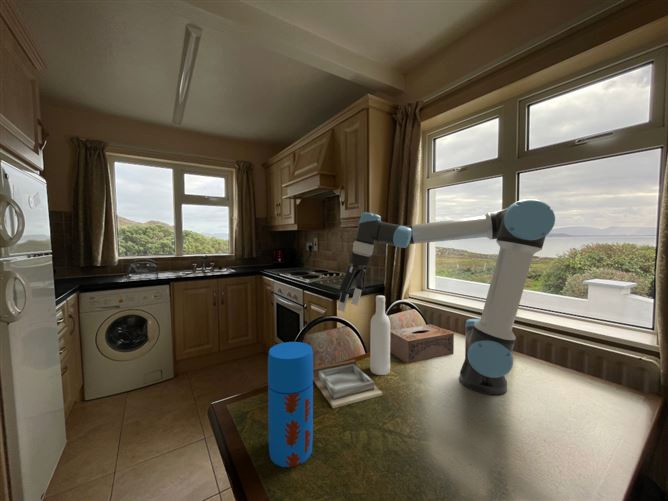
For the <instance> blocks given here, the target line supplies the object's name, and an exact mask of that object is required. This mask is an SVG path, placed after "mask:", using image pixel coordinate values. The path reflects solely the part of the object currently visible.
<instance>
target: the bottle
mask: <svg viewBox="0 0 668 501" xmlns="http://www.w3.org/2000/svg"><path fill="white" fill-rule="evenodd" d="M390 330H391V321H390V317H389V316H388V315H387V314H386V296H385V295H376V296H375V313H374V314H373V315H372V317H371V319H370V334H369V335H370V336H369V337H370V338H369V339H370V343H369V345H370V346H369V347H370V357H369V359H370V360H369V368H370V373H372V374H375V375H378V376H387V375H389V373H390V372H391V352H390Z"/></svg>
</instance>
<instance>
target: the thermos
mask: <svg viewBox="0 0 668 501" xmlns="http://www.w3.org/2000/svg"><path fill="white" fill-rule="evenodd" d="M313 368H314V353H313V347H312V345H310V344H308V343H305V342H301V341H288V342H287V341H286V342H281V343H278V344H275V345H273V346H272V347H270V348H269V351H268V357H267V384H268V385H267V386H268V387H267V391H268V392H267V396H268V398H267V401H268V402H267V404H268V405H267V407H268V408H267V412H268V413H267V414H268V416H267V418H268V419H267V422H268V427H267V430H268V431H267V432H268V434H267V440H268V451H269V452H268V453H269V457H270V460H271V461H272V462H273V463H274V465H277V466H279V467H282V468H294V467H297V466H299V465H301V464H304V463H305V462H306V461H307V460H308V459H309V458H310V457H311V455H312V453H313V440H314V380H313Z"/></svg>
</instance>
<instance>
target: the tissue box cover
mask: <svg viewBox="0 0 668 501" xmlns="http://www.w3.org/2000/svg"><path fill="white" fill-rule="evenodd" d="M454 336H455V333H454V332H452V331H449V330H447V329H444V328H443V327H442V328H441V327H439V326H436V325H434V324H425V325H418V326H412V327H404V328H403V327H402V328H397V329H396V328H395V329H390V354H392V355H394V356H395V357H397V358H398V359H400V360H402V362H405V363H406V364H412V363H414V364H415V363H417V362H418V363H419V362H422V361H426V360H432V359H437V358H442V357H446V356H451V355H454V353H455V351H454V350H455V349H454V348H455V347H454V342H455V340H454V339H455V337H454Z"/></svg>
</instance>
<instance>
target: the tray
mask: <svg viewBox="0 0 668 501" xmlns="http://www.w3.org/2000/svg"><path fill="white" fill-rule="evenodd" d="M313 383H315V385H316V386H317V388H318V389H319V390H320V392H321V394H323V396H324V398H325V399H326V401H327V402H328V403H329V405H330V406H331V408H332V409H336V408H341V407H343V406H347V405H351V404H355V403H359V402H363V401H366V400H370V399H373V398H377V397H382V396H383V391H381V390H380V389H379V388H378V387H377V386H376V385H375V381H374V380H373V379H372V378H370V376H368V374H366V373H365V372H364V371H362V370H361V369H360V368H359V367H358V366H357V361H356V359H351V360H346V361H340V362H335V363H330V364H324V365H320V366H315V367H314V366H313Z"/></svg>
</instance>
